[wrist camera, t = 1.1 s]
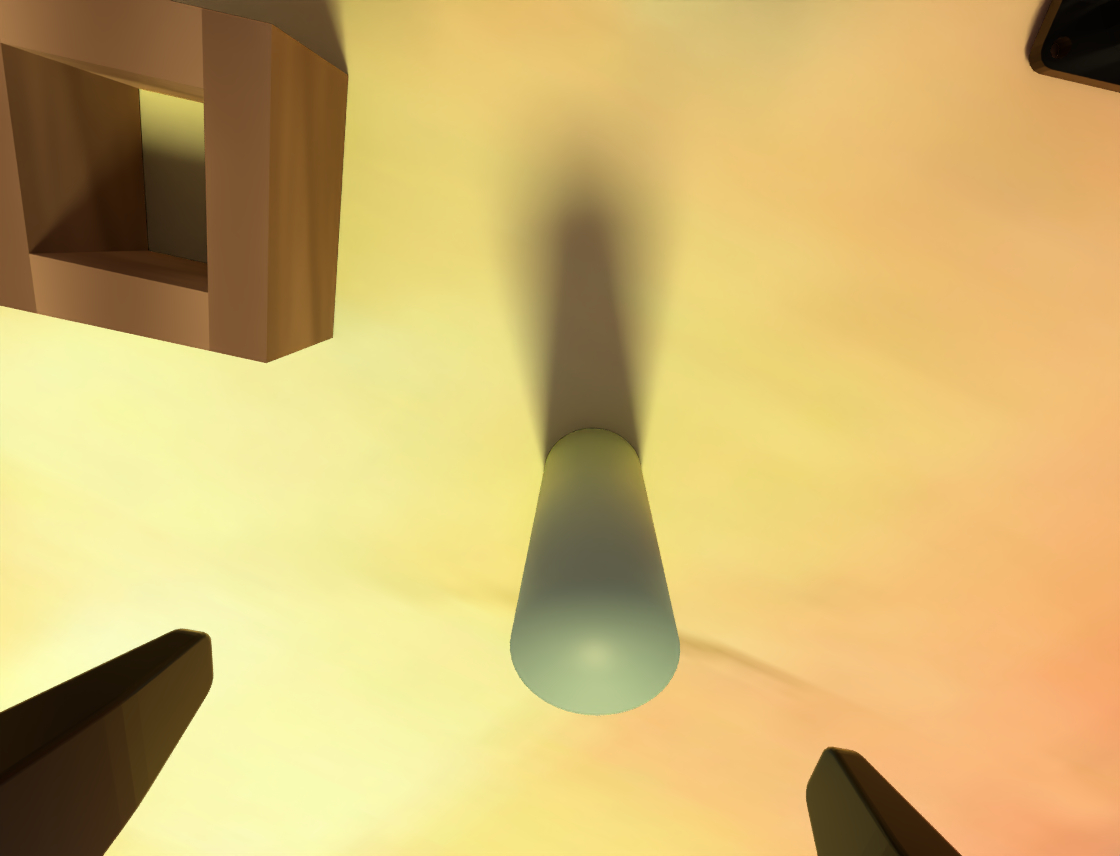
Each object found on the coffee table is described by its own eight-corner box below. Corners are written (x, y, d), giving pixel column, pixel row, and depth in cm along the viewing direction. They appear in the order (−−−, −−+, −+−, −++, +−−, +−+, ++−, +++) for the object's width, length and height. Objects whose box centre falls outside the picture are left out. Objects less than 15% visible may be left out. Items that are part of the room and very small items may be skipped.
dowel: (652, 439, 19) (701, 600, 11) (627, 524, 20) (654, 729, 12) (555, 418, 19) (527, 563, 11) (536, 505, 20) (497, 696, 12)
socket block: (347, 75, 16) (271, 23, 12) (332, 337, 18) (266, 362, 15) (80, 14, 16) (-83, -57, 12) (105, 288, 18) (-21, 300, 14)
